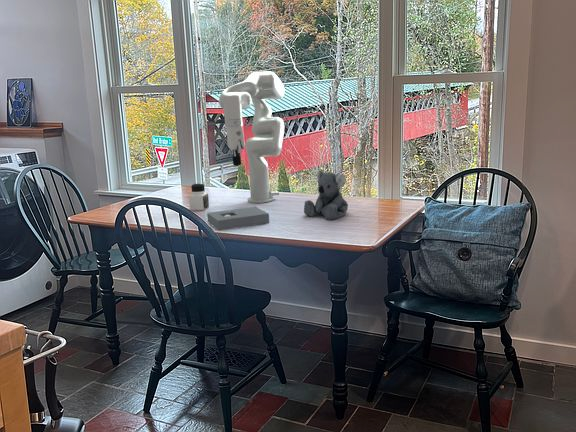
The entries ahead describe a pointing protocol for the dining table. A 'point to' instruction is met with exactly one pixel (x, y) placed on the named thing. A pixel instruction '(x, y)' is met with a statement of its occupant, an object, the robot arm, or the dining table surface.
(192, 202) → the medicine bottle
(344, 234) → the dining table surface
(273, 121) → the robot arm
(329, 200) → the koala plush
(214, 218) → the grey flat block
